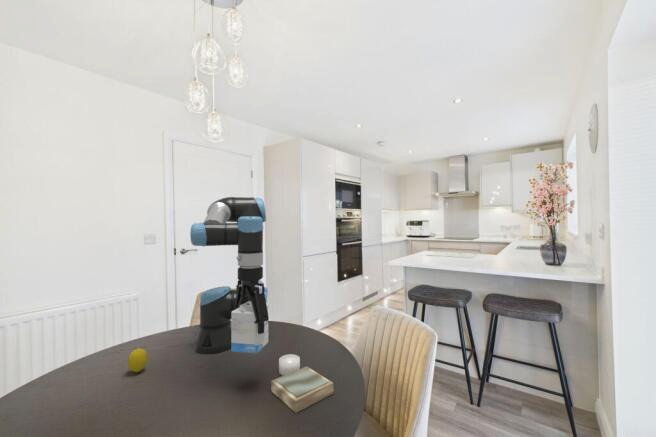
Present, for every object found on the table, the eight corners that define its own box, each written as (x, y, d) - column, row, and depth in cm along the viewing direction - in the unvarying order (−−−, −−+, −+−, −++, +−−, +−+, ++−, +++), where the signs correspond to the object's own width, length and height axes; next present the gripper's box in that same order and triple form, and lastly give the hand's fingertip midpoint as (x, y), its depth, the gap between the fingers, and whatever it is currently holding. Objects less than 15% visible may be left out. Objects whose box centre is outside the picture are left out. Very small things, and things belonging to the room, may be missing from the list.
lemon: (150, 370, 95) (151, 346, 96) (133, 378, 90) (134, 353, 91) (140, 366, 98) (141, 343, 98) (123, 374, 93) (124, 350, 93)
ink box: (256, 354, 81) (256, 307, 81) (230, 351, 82) (230, 306, 83) (268, 341, 89) (269, 299, 89) (244, 339, 91) (244, 298, 91)
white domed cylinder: (275, 370, 94) (275, 358, 95) (292, 363, 99) (292, 352, 99) (286, 379, 89) (286, 366, 89) (304, 371, 94) (303, 359, 94)
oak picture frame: (271, 391, 82) (271, 379, 82) (306, 375, 91) (306, 365, 91) (295, 413, 72) (295, 400, 73) (333, 393, 81) (333, 382, 81)
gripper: (224, 263, 93) (224, 329, 93) (256, 272, 75) (256, 355, 74) (245, 261, 98) (245, 324, 97) (281, 269, 80) (281, 346, 79)
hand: (250, 337), depth 86 cm, fingers closed on ink box, 11 cm apart
